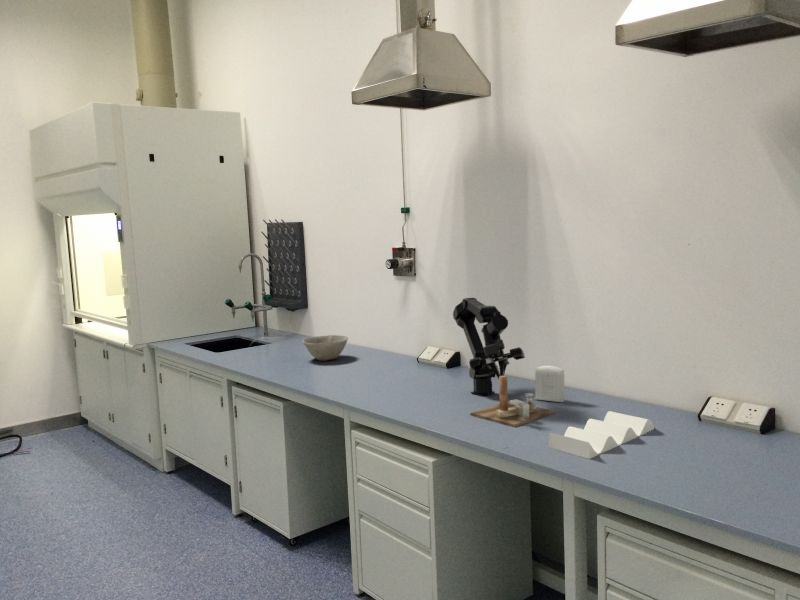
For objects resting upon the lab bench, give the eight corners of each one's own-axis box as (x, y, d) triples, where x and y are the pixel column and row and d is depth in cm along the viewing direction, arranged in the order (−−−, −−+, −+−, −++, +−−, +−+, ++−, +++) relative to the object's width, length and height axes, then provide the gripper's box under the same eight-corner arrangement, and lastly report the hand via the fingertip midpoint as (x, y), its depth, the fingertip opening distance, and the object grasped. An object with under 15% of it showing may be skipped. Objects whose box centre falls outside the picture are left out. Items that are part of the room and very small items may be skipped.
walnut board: (470, 415, 222) (470, 412, 222) (510, 402, 235) (510, 400, 235) (514, 427, 208) (514, 424, 208) (554, 413, 220) (554, 410, 220)
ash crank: (531, 408, 223) (530, 370, 222) (539, 411, 219) (538, 372, 218) (494, 415, 217) (493, 376, 215) (501, 418, 213) (500, 379, 211)
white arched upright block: (566, 400, 236) (565, 365, 234) (562, 403, 232) (562, 368, 230) (537, 397, 241) (537, 363, 239) (533, 400, 237) (533, 366, 236)
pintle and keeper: (529, 410, 222) (529, 392, 222) (542, 415, 216) (542, 397, 215) (510, 413, 219) (510, 395, 219) (523, 419, 213) (522, 400, 212)
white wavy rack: (656, 430, 201) (656, 414, 200) (589, 461, 178) (589, 442, 178) (617, 421, 211) (617, 406, 210) (549, 449, 188) (548, 432, 188)
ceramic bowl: (331, 352, 340) (330, 333, 339) (358, 358, 323) (357, 338, 321) (294, 359, 326) (292, 339, 325) (319, 366, 309) (318, 345, 307)
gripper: (461, 340, 231) (470, 384, 225) (514, 327, 226) (524, 371, 220) (469, 348, 240) (477, 390, 235) (520, 335, 236) (529, 378, 230)
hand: (501, 382), depth 229 cm, fingers closed
